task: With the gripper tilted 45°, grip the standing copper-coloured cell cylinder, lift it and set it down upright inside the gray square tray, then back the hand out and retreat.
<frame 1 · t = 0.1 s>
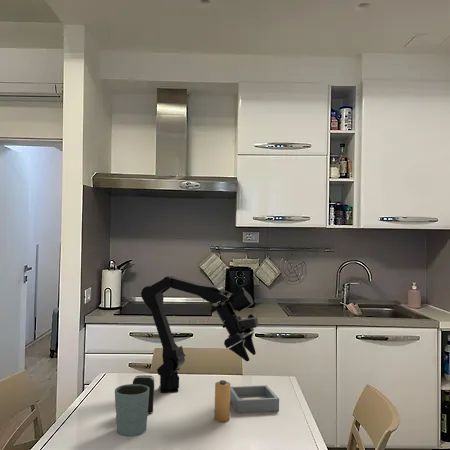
hand: (251, 357, 168), 15 cm above the table, tool tilted 35°, fingers open, 9 cm apart
battery charger: (143, 412, 155), on the table
green cup: (131, 430, 140), on the table
gray square tray: (252, 404, 164), on the table
cell: (222, 419, 150), on the table
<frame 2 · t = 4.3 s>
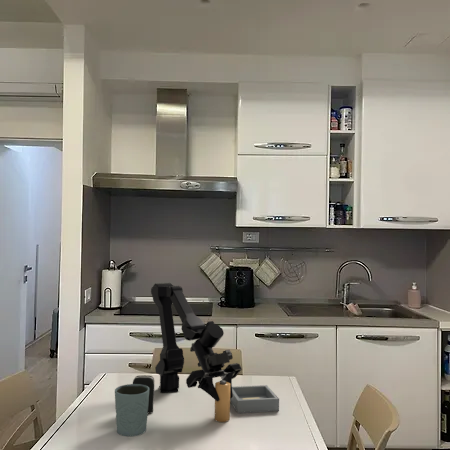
hand: (225, 399, 149), 7 cm above the table, tool tilted 45°, fingers closed on cell, 5 cm apart
cell: (222, 419, 150), on the table, touching gripper
everything else where it was.
when the fingers open (9 cm above the table, at t = 8.9 s): cell stays where it is, resting on gray square tray.
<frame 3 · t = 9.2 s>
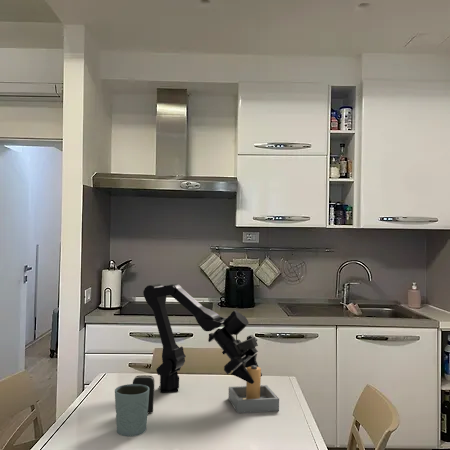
hand: (257, 379, 163), 9 cm above the table, tool tilted 45°, fingers open, 8 cm apart
cell: (252, 400, 164), point 1 cm above the table, touching gray square tray
everything else where it was.
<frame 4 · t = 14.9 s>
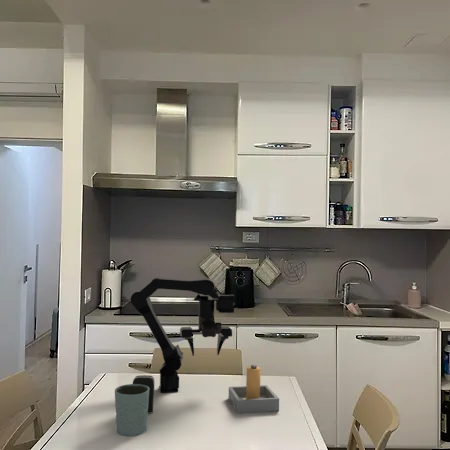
hand: (205, 355, 176), 13 cm above the table, tool pointing down, fingers open, 9 cm apart
nothing on the table moved.
at the end: cell inside the target area on the gray square tray (0.0 cm from its centre), point 1.2 cm above the gray square tray's base; cell tilted 1°; the gripper is holding nothing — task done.
